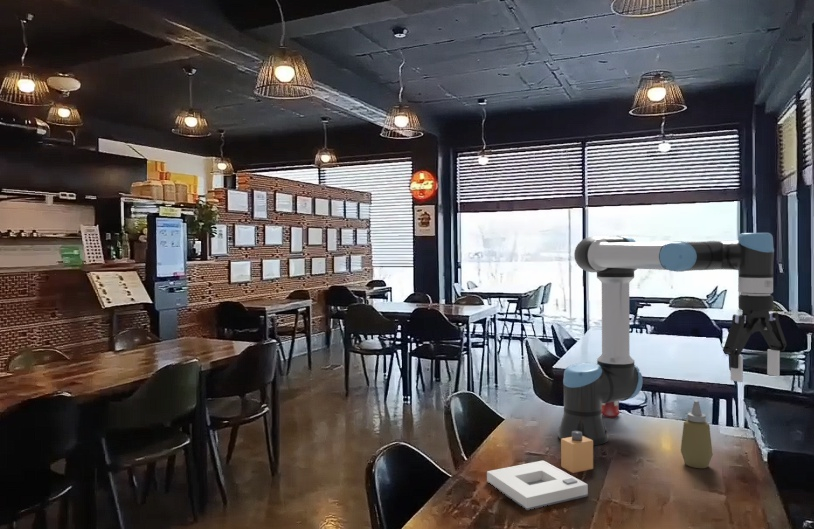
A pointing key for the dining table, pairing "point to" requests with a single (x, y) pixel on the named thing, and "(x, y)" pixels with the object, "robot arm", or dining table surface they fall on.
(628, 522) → the dining table surface
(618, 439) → the dining table surface
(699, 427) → the squeeze bottle
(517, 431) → the dining table surface
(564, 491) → the socket
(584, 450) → the plug
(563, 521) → the dining table surface
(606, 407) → the liquor
